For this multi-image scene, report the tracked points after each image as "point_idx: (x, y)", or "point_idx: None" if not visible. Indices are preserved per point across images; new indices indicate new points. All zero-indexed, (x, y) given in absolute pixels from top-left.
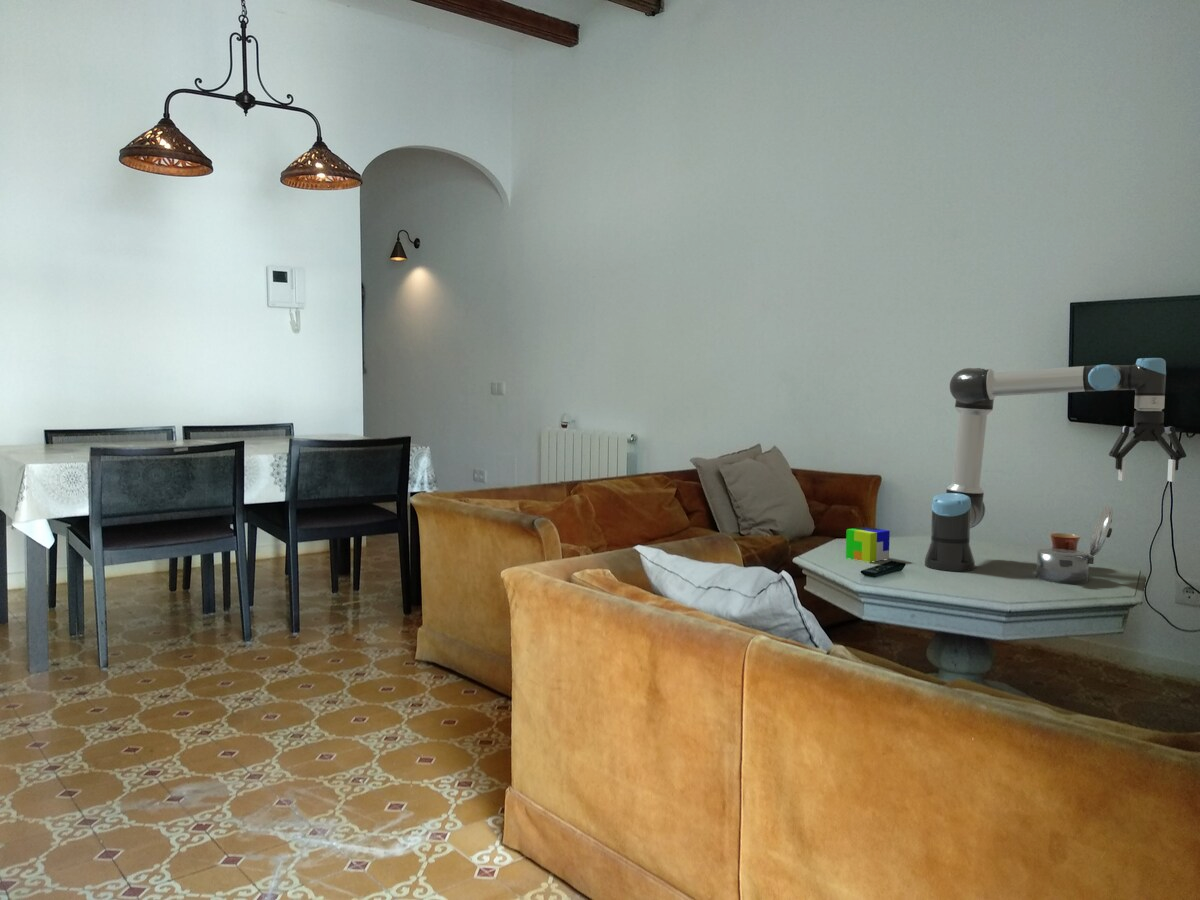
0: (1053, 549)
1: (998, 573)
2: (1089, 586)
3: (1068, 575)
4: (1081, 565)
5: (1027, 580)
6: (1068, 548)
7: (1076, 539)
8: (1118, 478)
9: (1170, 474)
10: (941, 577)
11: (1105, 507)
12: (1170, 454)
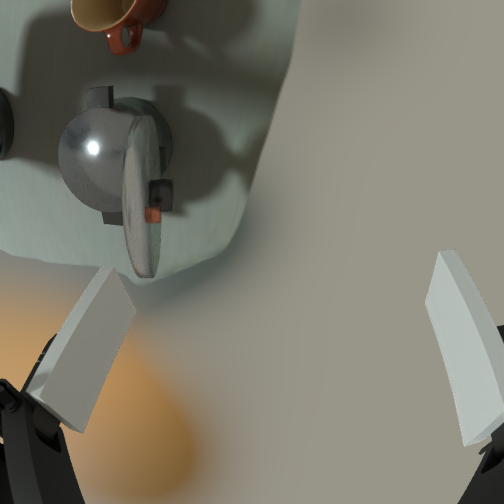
0: (81, 124)
1: (41, 141)
2: None
3: None
4: None
5: None
6: (124, 24)
7: (129, 15)
8: (97, 278)
9: (444, 325)
10: (3, 203)
11: (122, 206)
12: (476, 484)
